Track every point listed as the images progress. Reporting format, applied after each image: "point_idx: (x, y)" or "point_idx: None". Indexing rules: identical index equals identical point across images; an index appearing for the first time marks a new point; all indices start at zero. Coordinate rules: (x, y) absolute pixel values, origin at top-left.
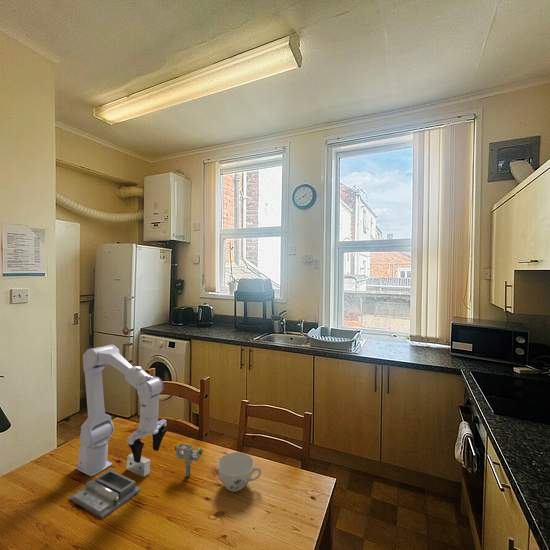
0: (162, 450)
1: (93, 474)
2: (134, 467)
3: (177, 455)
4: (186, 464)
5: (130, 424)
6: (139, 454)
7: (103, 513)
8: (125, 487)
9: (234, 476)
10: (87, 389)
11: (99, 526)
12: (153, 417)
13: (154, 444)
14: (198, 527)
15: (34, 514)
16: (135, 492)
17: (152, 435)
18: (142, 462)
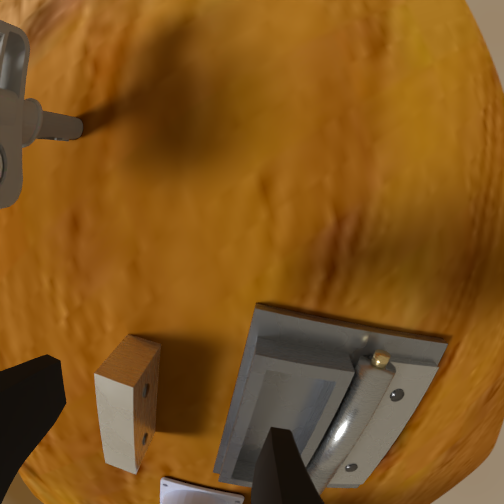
0: (12, 352)
1: (237, 497)
2: (148, 414)
3: (9, 193)
4: (40, 125)
5: (22, 475)
6: (313, 502)
7: (435, 351)
8: (315, 373)
9: None
10: None
11: (471, 319)
12: None
13: (36, 423)
14: None
15: (412, 491)
16: (287, 314)
17: (4, 495)
18: (133, 401)
